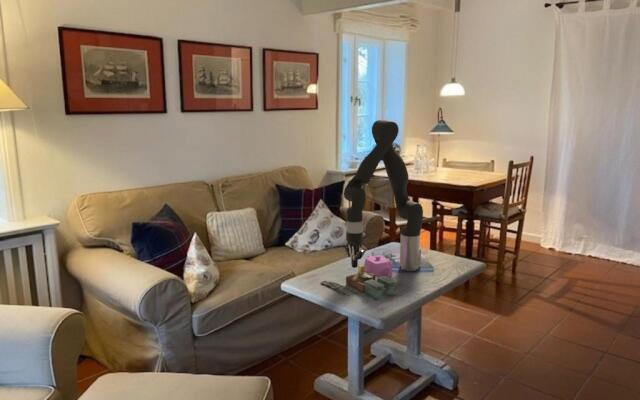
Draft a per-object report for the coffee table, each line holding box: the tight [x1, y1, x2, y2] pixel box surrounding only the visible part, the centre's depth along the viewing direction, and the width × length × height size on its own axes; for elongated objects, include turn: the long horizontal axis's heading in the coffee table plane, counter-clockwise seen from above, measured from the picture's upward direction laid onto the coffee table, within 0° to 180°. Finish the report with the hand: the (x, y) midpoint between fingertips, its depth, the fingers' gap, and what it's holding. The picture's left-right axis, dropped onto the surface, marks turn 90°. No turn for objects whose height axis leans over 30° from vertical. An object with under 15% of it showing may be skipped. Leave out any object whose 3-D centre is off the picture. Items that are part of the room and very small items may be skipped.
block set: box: [345, 271, 398, 302], centre depth 213 cm, size 11×21×6 cm, turn 34°
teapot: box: [363, 254, 393, 279], centre depth 227 cm, size 18×10×10 cm, turn 24°
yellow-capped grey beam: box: [357, 264, 374, 280], centre depth 215 cm, size 2×8×5 cm, turn 34°
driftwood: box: [320, 280, 360, 297], centre depth 216 cm, size 21×7×2 cm, turn 36°
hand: (354, 267), depth 222 cm, fingers closed
